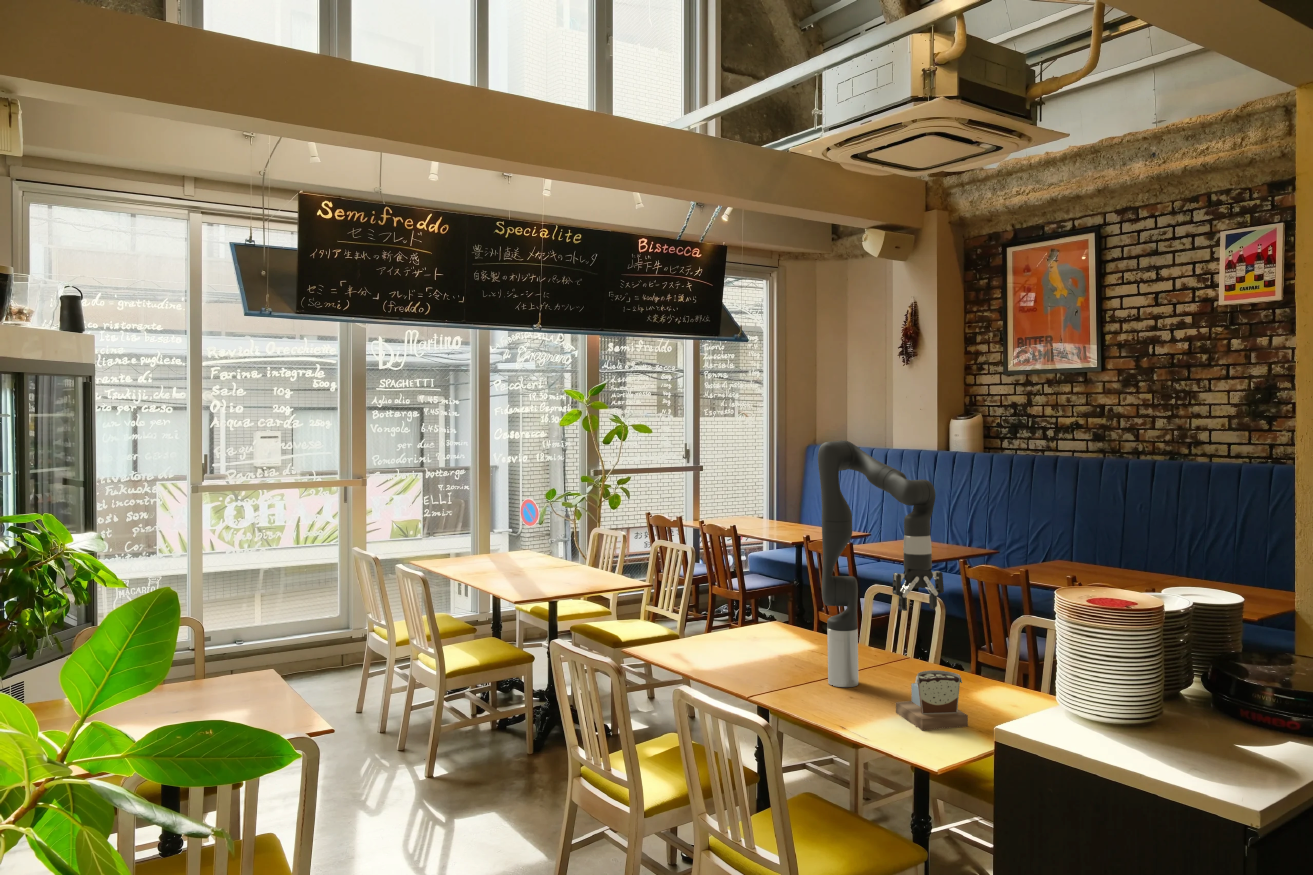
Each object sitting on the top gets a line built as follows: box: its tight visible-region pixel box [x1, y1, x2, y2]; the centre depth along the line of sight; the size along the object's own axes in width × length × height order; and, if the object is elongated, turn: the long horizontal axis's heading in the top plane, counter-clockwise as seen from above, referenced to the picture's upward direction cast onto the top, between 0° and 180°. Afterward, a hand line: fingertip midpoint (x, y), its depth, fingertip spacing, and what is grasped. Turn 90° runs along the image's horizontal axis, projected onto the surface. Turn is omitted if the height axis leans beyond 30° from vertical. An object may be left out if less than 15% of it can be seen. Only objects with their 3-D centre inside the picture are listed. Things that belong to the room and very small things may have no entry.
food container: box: [914, 669, 963, 714], centre depth 238 cm, size 12×6×10 cm, turn 93°
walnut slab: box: [895, 700, 969, 731], centre depth 239 cm, size 15×13×3 cm
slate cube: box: [911, 682, 921, 707], centre depth 244 cm, size 5×5×5 cm
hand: (918, 609), depth 247 cm, fingers open, 8 cm apart
